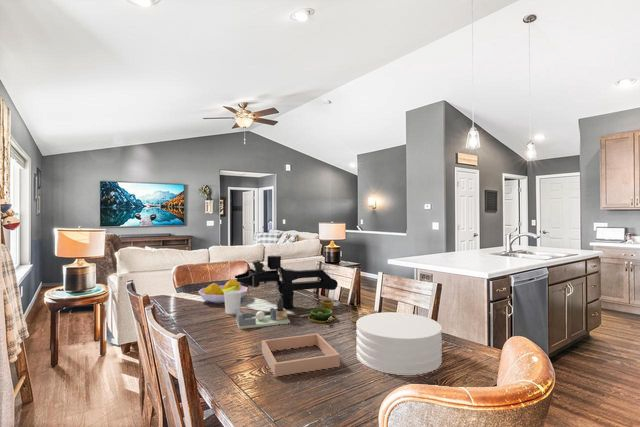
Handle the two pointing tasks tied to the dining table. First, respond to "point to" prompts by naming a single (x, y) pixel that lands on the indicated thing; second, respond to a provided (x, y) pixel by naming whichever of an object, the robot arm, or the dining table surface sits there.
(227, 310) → the white cup
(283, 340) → the rectangular frame
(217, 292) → the fruit bowl
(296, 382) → the dining table surface
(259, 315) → the ball
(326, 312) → the tableware set
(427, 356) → the plate stack
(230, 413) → the dining table surface
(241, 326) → the pitch
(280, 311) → the sled
